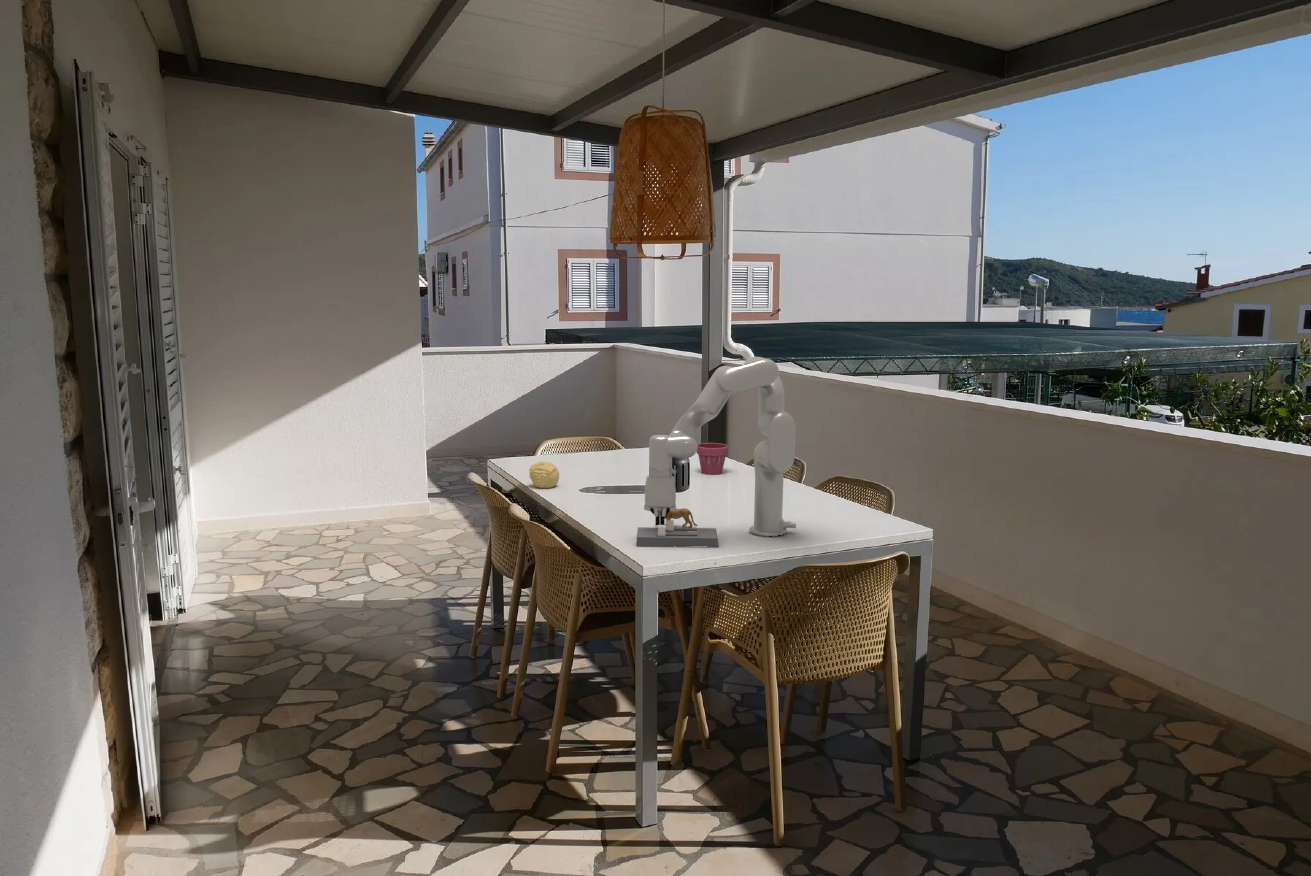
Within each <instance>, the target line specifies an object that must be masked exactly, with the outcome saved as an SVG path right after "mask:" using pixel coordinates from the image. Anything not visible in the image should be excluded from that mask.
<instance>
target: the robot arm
mask: <svg viewBox="0 0 1311 876" xmlns="http://www.w3.org/2000/svg"><path fill="white" fill-rule="evenodd" d="M779 372H780V369H779V366H778V364H777V363H776V362H775V361H774V360H772V359H769V358H764V357H761V356H751V357H749V358H747V359H746V360H745V361H744V362H743V365H740V366H736V367H735V366H734V367H733V366H729V365H722V366H719V367H718V368H716V370H715V371H714V372H713V374H712V375H711V377H710V378H709V380H708V382H707V383H706V385H705V386H704V388H703V389H702V391H701V393H700V394H699V396H698V397H697V398H696V401H695V402H694V403H693V404H691V406H690V407H689V408H688V409H687V410H686V411H685V412H684V413H683V414H682V416H681V417H680V418H679V419H678V421H677V422H676V424H675V426H674V427H673V428H672V430H671V432H670V433H669V435H668V434H655V435H654V434H653V435H651V436H650V437H649V439H648V441H649V443H648V446H649V447H648V451H649V453H648V454H649V455H648V475H647V476H646V478H645V479H646V480H645V487H644V506H643V510H645V511H647V512H650V513H651V514H652V515H654V517H655V519H654V521H655V526H658V525H665V524H666V519H665V515H666V514H667V513H669V512H670V511H674V510H676V509H677V506H676V503H677V498H676V497H677V495H676V491H677V488H676V480H675V476H673V475H675V474H677V469H675V468H673V458H676V459H678V458H679V459H689V458H692V457H693V456H695V455H696V454H697V448H698V446H697V445H698V443H697V440H695V438H694V436H695V435H696V433H697V431H699V429H700V428H701V427H702V426H704V425H705V424H707V423H708V422H710V421H711V420H713V419H715V418H716V417H718V415H719V414H720V412H721V411H722V409H723V408H724V406H725V404H726V403H727V401H728V399H729V398H730V397H731V395H737V394H741V393H746V392H750V391H753V390H757V393H758V410H757V411H758V413H757V415H758V417H757V426H758V427H757V428H758V430H759V432H760V433H761V434H762V435H764V436H766V437H767V439H765V440H762V441H760V442H759V443H757V445H756V446H755V448H754V451H753V464H754V467H753V468H754V501H753V502H754V505H753V507H754V508H753V525H752V526H750V527H749V529H748V532H749V533H750V534H752V533H753V534H752V535H754V534H756V535H755V536H758V535H759V536H758V537H769V536H772V537H779V536H778V535H781V536H784V535H786V534H787V529H796V528H797V522H792V521H785V520H784V519H783V505H784V504H783V502H784V501H783V500H784V474H785V473H786V472H788V471H789V470H790V469H791V468H792V466H793V465H794V462H795V457H796V456H795V454H796V436H797V435H796V433H797V431H796V423H795V421H794V418H793V416H791V415H790V413H788V412H786V411H785V389H784V384H783V381H782V379H781V377H780V375H779ZM658 508H663V509H662V513H661V515H659V513H658ZM785 533H786V534H785ZM783 534H784V535H783Z"/></svg>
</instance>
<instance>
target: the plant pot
mask: <svg viewBox="0 0 1311 876" xmlns="http://www.w3.org/2000/svg"><path fill="white" fill-rule="evenodd" d="M697 446H698V448H697V452H696V454H697V455H698V461H699V465H700V471H701V474H703V475H707V476H708V475H709V476H718V475H722V473H723V470H724V466H725V462H726V456H727V455H728V454H729V447H728V446H729V445H728V444H725V443H721V442H719V443H718V442H702V443H697Z"/></svg>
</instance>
